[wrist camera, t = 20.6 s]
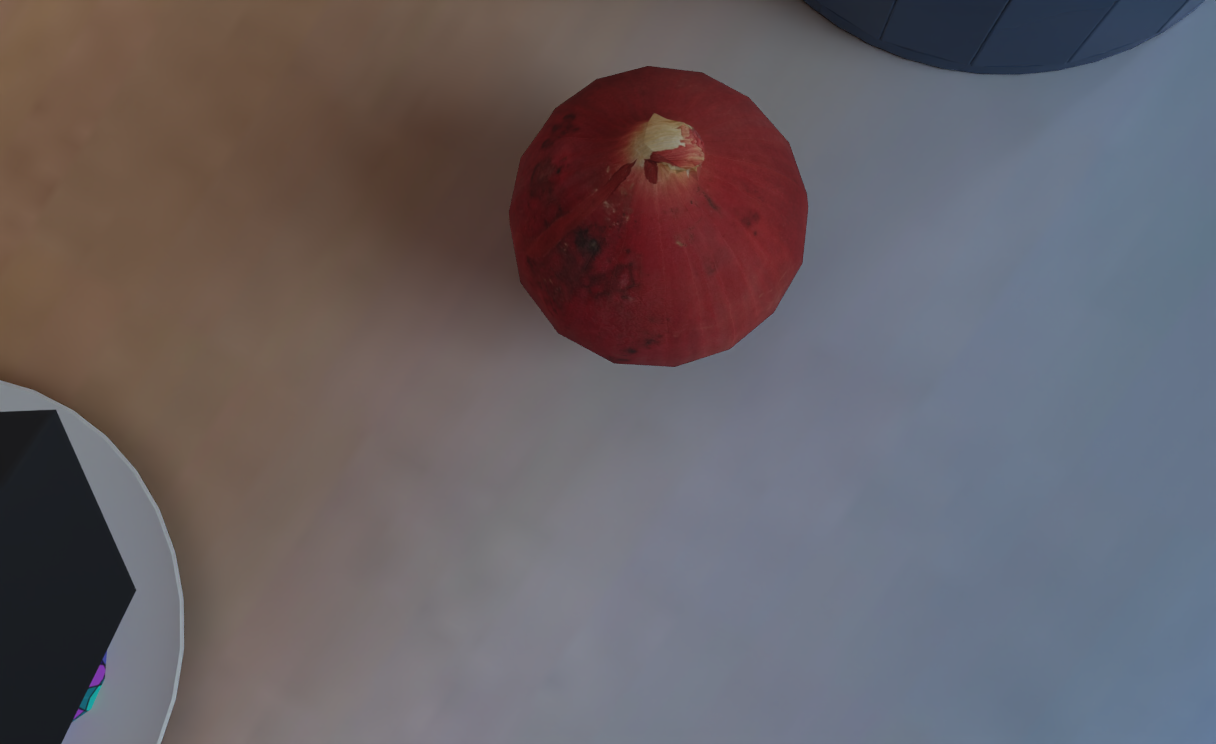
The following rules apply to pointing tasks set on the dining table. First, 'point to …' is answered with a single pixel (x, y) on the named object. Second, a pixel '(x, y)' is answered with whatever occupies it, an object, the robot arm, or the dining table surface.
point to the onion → (658, 217)
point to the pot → (1005, 30)
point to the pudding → (154, 621)
